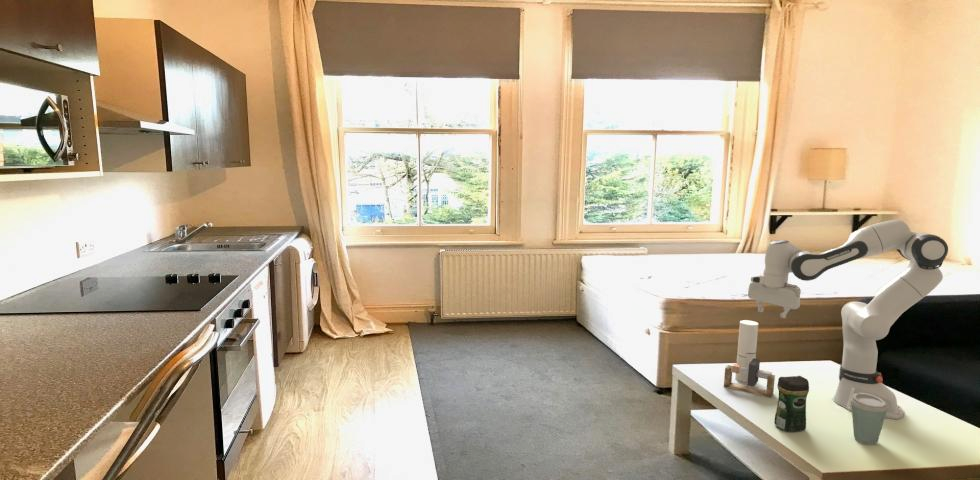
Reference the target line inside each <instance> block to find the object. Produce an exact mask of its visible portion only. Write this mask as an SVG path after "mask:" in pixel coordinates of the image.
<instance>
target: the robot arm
mask: <svg viewBox="0 0 980 480" xmlns="http://www.w3.org/2000/svg"><path fill="white" fill-rule="evenodd" d="M893 250H896V252H898V253H899V254H900V255H901V257H903V259H906V260H907V261H909V264H908V266H907V267H906V269H904V270H903V271H902V272H900V273H898V274H897V275H896V276H894V277H893V278H892V279H890V280H889V281H888V282H887V283H885V284H884V285H883V286H881V287H880V288H878V290H877V293H876V294H875V296H874V297H873V298H872V299H871V300H870V301H869V303H866V302H862V301H856V300H855V301H849V302H847V303H845V304H844V305H843V306H842V308H841V311H840V314H841V320H842V323H841V324H842V337H843V338H842V339H843V340H842V341H843V348H842V349H843V350H842V361H841V362H842V363H841V364H840V366H839V367H840V368H839V370H838V371H839V372H838V380H839V381H838V386H837V389H836V390H835V391H836V392H835V394H834V396H833V398H832V400H833V401H834V402H835V403H836V404H837V405H839V406H841V407H843V408H846V409H847V410H848V411H850V412H852V406H851V403H850V399H851V397H852V396H853V394H855V393H867V394H871V395H874V396H876V397H879V398H881V399H882V400H883V401H885V403H886V404H887V406H888V410H887V412H886V415H885V418H888V419H893V420H900V419H901V418H903V417H904V408H902V406H900V405H899V404H898V401H897V397H896V395H895V393H894V392H893V391H892V390H891V389H890V388H889V387H887V385H885V384H884V383H883V375H882V373H881V372H878V371H877V363H878V353H879V352H878V351H879V350H878V347H877V342H876V341H879V340H882V339H884V338H885V337H887V335H888V334H889V332H890V329H891V327H892V326H893V325H894V324H895V322H897V320H898V319H899V317H901V316H902V314H903V313H904V312H906V311H908V309H910V308H911V307H912V306H914V305H915V304H917V303H919V302H920V301H921V300H923V298H925V297H927V296H928V295H929V294H930V293H932V292H933V290H935V289H936V288H937V286H938V285H940V284H941V282H942V280H943V279H944V278H943V277H944V276H943V272H942V271H941V269H940V268H941V267H942V265H943V263H944V260H945V259H946V258H947V255H948V253H949V246H948V243H947V242H946V241H945V240H944V239H943V238H942V237H940V236H939V235H936V234H932V233H928V232H913V231H912V230H911V228H910V227H909V225H908V224H907V223H906V222H904V221H903V220H901V219H891V220H885V221H881V222H877V223H874V224H870V225H867V226H864V227H862V228H858V229H857V230H855V231H853V232H852V233H850V234H849V236H848V237H847V241H846V242H845V243H844V244H842V245H841V246H838V247H835V248H833V249H830V250H827V251H824V252H821V253H816V254H815V253H812V252H810V251H808V250H805V249H803V248H800V247H798V246H796V245H794V244H793V243H791V242H790V241H789V240H785V239H783V240H782V239H780V240H774V241H771V242H769V243H768V245H767V247H766V249H765V255H764V256H765V257H764V270H763V274H760V275H754V276H751V277H750V283H749V285H748V288H747V289H748V291H747V297H748V298H749V299H750V300H755V303H756V306H757V312H758V313H764V311H765V307H763V305H762V303H766V304H770V305H775V306H779V307H783V312H780V314H779V317H780V318H781V319H786V318H787V314H788V313H789V312H790V310H797V309H799V308H800V306H801V291H802V290H801V288H800V287H799V286H798V285H796V284H791V283H789V282H788V281H789V274H790V273H792V274H793V275H794V276H795V277H796V278H797V279H798V280H801V281H805V282H808V281H813V280H814V281H815V280H816V279H817V278H819V277H820V276H821V275H823V274H824V273H825V272H827V271H829V270H830V269H833V268H837V267H839V266H842V265H845V264H847V263H849V262H850V263H851V262H852V261H855V260H860V259H863V258H868V257H873V256H877V255H880V254H883V253H886V252H889V251H893Z"/></svg>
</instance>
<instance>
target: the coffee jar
mask: <svg viewBox="0 0 980 480" xmlns="http://www.w3.org/2000/svg"><path fill="white" fill-rule="evenodd" d="M777 389H778V398H777V404H776V411H775V414H774V415H775V416H774V425H775V426H776V427H777V428H778V429H780V430H782V431H784V432H788V433H791V432H802V431H803V432H804V431H805V430H806V427H807V397H808V394H809V392H810V383H809V380H808V379H807V378H805V377H803V376H802V375H796V376H793V375H792V376H780V377H778V381H777Z"/></svg>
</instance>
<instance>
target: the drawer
mask: <svg viewBox="0 0 980 480" xmlns="http://www.w3.org/2000/svg"><path fill="white" fill-rule="evenodd" d="M728 365H729V364H728ZM728 365H726V366H725V368H724V378H723V379H724V380H723V387H724V388H729V389H734V390H737V391H741V392H746V393H750V394H754V395H759V396H763V397H767V398H772V397H773V395H774V390H775V381H776V375H775V374H772V376H771V377H768V378H767V379H766V382H767V383H766V389H763V388H757V387H755V386H754V387H752V386H748V385H745V384H740V383H736V382H732V378H733V372H732V371H731V368H728Z"/></svg>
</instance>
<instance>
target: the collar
mask: <svg viewBox="0 0 980 480" xmlns="http://www.w3.org/2000/svg"><path fill="white" fill-rule="evenodd" d="M760 363H761V359H758V358H755V359H754V358H753V360H752V361H751V362H750V363H749V370H748V382H746V383H747V385H746V386H750V387H754V388H755V386H756V385H757V383H758V382H759V377H756V370H757V369H758V370H760Z"/></svg>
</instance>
